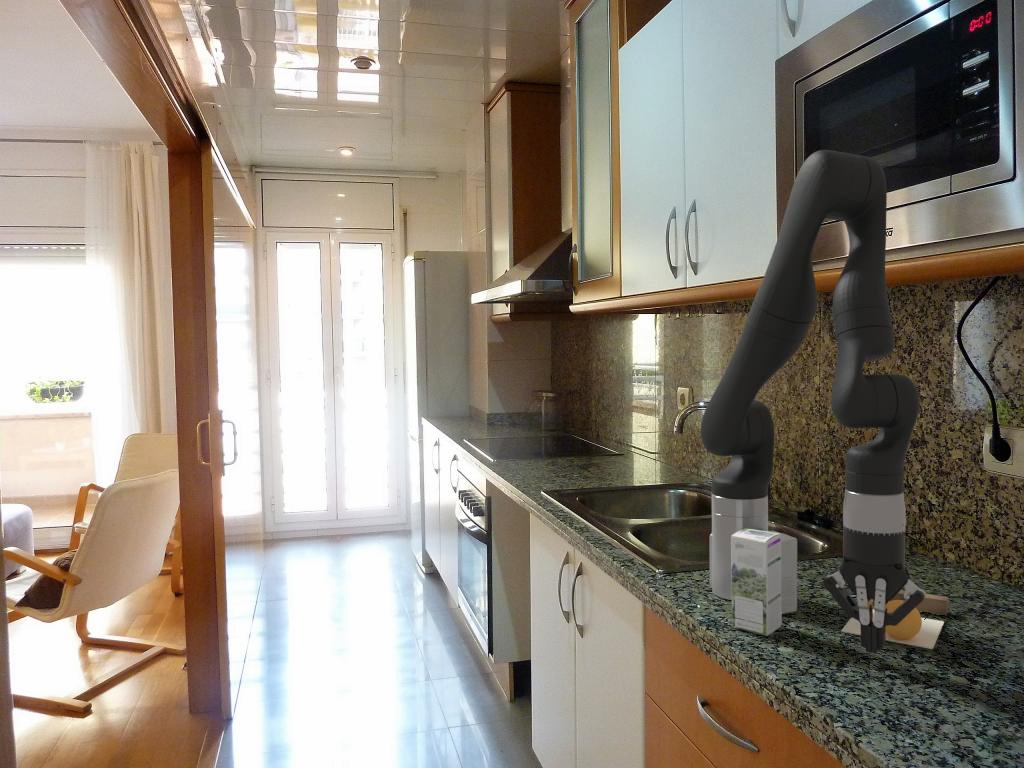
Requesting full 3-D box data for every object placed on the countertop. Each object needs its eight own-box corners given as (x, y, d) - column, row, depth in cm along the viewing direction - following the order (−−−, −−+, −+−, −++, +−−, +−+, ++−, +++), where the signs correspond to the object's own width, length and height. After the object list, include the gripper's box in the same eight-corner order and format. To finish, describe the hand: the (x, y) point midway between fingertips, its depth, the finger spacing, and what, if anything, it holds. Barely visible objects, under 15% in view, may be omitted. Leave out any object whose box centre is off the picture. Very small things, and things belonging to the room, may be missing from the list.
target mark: (841, 631, 115) (841, 630, 115) (859, 608, 124) (859, 606, 124) (932, 649, 108) (932, 647, 108) (944, 622, 117) (944, 621, 117)
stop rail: (863, 602, 127) (863, 587, 127) (865, 599, 129) (865, 584, 128) (946, 616, 120) (946, 600, 120) (948, 612, 122) (948, 597, 121)
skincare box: (752, 603, 128) (751, 532, 127) (773, 600, 129) (772, 529, 128) (776, 615, 122) (776, 541, 121) (798, 611, 123) (798, 537, 123)
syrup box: (782, 626, 118) (782, 532, 117) (766, 637, 113) (766, 540, 112) (747, 617, 121) (747, 526, 121) (730, 628, 117) (729, 534, 116)
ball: (879, 616, 116) (867, 628, 112) (896, 587, 114) (884, 599, 110) (915, 639, 113) (904, 653, 109) (933, 610, 111) (922, 623, 107)
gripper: (814, 523, 104) (814, 650, 105) (925, 536, 96) (924, 673, 97) (828, 513, 110) (828, 632, 111) (933, 524, 102) (932, 652, 103)
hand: (873, 651), depth 104 cm, fingers closed
